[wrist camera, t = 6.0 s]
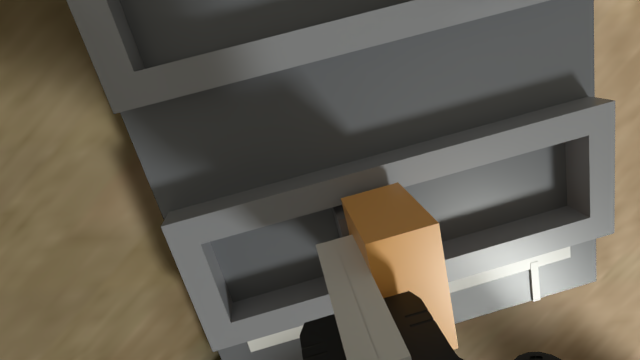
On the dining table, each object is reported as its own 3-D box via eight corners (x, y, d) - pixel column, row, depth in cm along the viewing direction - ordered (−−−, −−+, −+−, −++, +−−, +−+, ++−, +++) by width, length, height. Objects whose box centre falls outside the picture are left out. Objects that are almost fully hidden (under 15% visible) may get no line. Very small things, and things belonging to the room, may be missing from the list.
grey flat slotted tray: (236, 361, 23) (232, 415, 20) (8, -214, 14) (-68, -292, 11) (569, 262, 24) (619, 297, 21) (548, -330, 15) (628, -433, 12)
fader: (350, 280, 20) (385, 370, 14) (326, 185, 18) (355, 246, 13) (409, 262, 20) (466, 345, 14) (391, 167, 18) (448, 220, 13)
